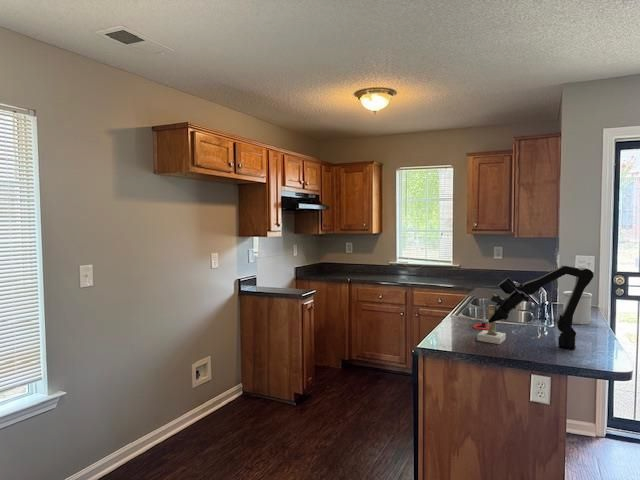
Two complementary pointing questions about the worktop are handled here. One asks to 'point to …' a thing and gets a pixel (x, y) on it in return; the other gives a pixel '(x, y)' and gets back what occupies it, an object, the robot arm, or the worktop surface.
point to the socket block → (491, 337)
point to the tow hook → (482, 322)
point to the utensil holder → (580, 308)
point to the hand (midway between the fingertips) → (488, 321)
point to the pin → (493, 324)
